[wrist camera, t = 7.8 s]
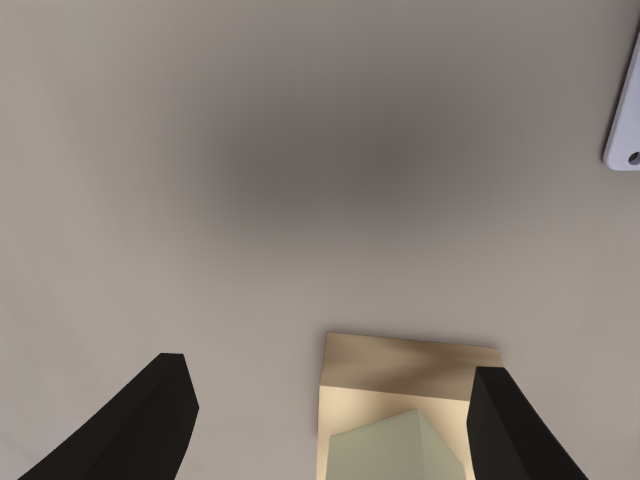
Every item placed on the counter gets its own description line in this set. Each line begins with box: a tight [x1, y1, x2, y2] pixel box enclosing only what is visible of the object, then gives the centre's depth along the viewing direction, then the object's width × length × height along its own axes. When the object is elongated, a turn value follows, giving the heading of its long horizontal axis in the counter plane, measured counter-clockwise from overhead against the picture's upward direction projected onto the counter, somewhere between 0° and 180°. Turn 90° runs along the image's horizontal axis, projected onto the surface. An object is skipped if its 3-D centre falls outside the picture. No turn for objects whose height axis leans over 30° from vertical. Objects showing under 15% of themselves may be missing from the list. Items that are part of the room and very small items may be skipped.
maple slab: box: [316, 332, 504, 480], centre depth 23 cm, size 9×9×4 cm
